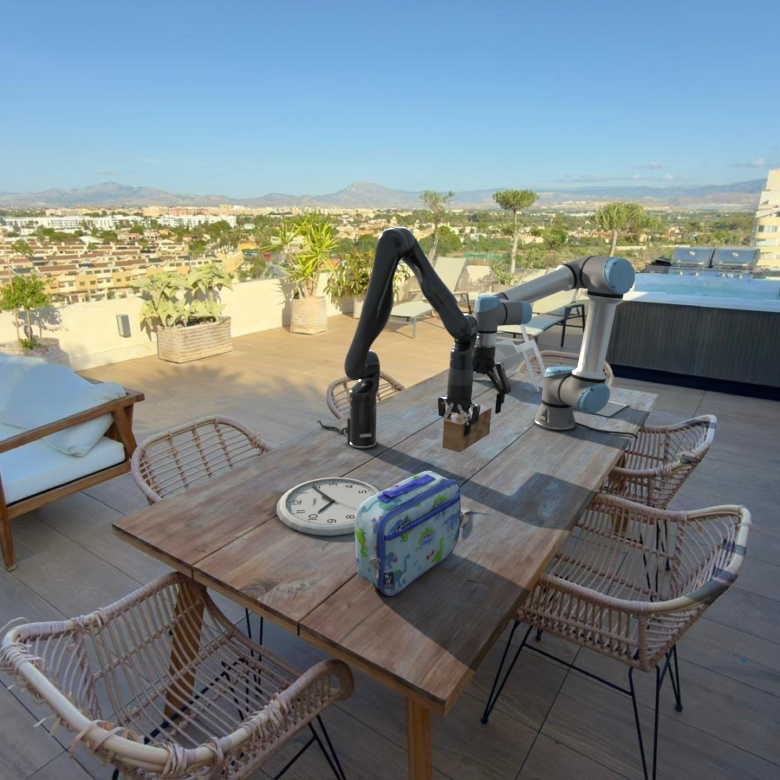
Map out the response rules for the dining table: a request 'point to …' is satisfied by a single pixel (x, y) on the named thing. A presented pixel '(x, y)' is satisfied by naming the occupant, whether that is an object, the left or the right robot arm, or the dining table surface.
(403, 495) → the lunch box
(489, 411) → the box
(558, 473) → the dining table surface
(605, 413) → the invitation card
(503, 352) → the white plastic object
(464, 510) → the fork
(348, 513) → the wall clock
